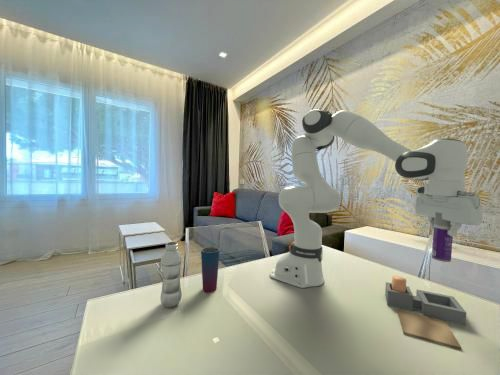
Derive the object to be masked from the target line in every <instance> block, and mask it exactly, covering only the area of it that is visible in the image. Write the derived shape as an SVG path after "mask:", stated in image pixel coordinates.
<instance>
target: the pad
mask: <svg viewBox="0 0 500 375" xmlns="http://www.w3.org/2000/svg"><path fill="white" fill-rule="evenodd" d="M396 312H397V316H398V319H399V322H400V325H401V329H402V333H403V334H404V335H407V336H410V337H414V338H417V339H421V340H425V341H428V342H432V343H435V344H438V345H443V346H446V347H450V348H452V349H453V348H454V349H457V350H460V351H462V346H461V345H460V343H459V341H458V339H457V337H455V334H454V333H453V331H452V330H451V328H450V327H449V324H448V323H447V321H444V320H440V319H436V318H432V317H428V316H424V315H423V314H420V313H419V314H418V313H414V312H412V311H411V312H410V311H406V310H404V309H403V310H401V309H399V308H397V309H396Z"/></svg>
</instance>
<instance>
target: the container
mask: <svg viewBox="0 0 500 375" xmlns="http://www.w3.org/2000/svg"><path fill="white" fill-rule="evenodd" d="M450 224H451V221H447V220H443V219H442V213H438V212H435V221H434V231H432V232H433V234H432V246H431V247H432V249H431V259H433V260H434V261H435V260H436V261H439V262H442V263H443V262H444V263H450V262H452V250H453V238H454V237H452V236H448V235H447V230H450V228H451V227H452V225H450Z"/></svg>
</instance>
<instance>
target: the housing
mask: <svg viewBox="0 0 500 375" xmlns="http://www.w3.org/2000/svg"><path fill="white" fill-rule="evenodd" d="M384 290H385V291H384V296H385V301H386V305H387V306H391V307H393V308H397V309H403V310H405V311H406V310H408V311H409V312H410V311H411V312H413V309H414V310H419V311H420V312H421V315H424V316H428V317H432V318H436V319H440V320H444V321H446V323H447V322H448V323H451V324H456V325H460V326H464V327H466V324H467V311H466V310H465V309H464V308H463V306H462V305H461V304H460V303H459V302H458V300H457V299H456V298H455V296H452V295H447V294H443V293H439V292H438V293H436V292H431V291H427V290H422V289H416V292H415V293H416V295H414V294H413V292H412V290H411V288H410V286H407V285H406V293H403V292H398V291H394V290H392V282H387V281H386V282H385V289H384Z"/></svg>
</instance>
